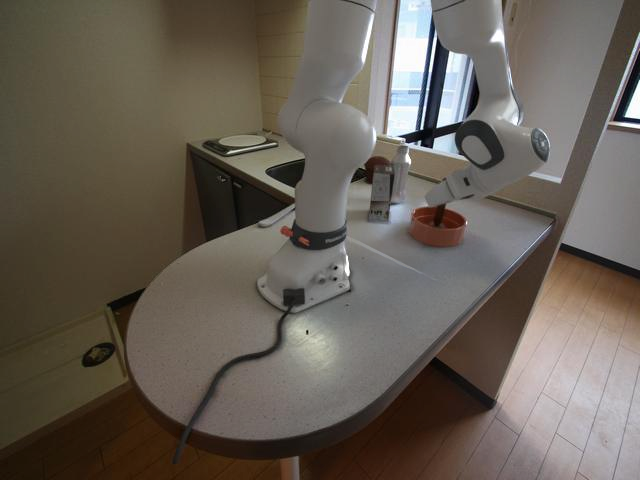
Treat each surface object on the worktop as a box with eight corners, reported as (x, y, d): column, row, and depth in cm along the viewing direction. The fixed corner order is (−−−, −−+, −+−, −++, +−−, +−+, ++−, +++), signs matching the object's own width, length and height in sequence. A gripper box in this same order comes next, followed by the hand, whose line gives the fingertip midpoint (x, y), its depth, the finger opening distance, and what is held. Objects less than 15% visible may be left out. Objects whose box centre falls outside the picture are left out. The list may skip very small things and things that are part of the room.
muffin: (359, 183, 131) (361, 159, 126) (365, 174, 140) (368, 152, 135) (388, 187, 128) (391, 162, 123) (392, 178, 137) (395, 155, 132)
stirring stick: (438, 238, 91) (451, 181, 82) (424, 233, 94) (436, 177, 85) (445, 233, 94) (459, 177, 85) (431, 228, 97) (443, 173, 88)
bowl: (446, 255, 85) (451, 235, 82) (398, 234, 94) (401, 216, 91) (470, 236, 94) (475, 218, 91) (424, 219, 103) (428, 202, 100)
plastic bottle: (408, 203, 114) (418, 147, 104) (395, 207, 111) (403, 150, 101) (395, 197, 119) (403, 143, 109) (382, 201, 116) (389, 145, 105)
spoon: (318, 190, 123) (317, 184, 122) (334, 194, 119) (334, 188, 118) (251, 227, 99) (250, 219, 98) (270, 234, 95) (269, 226, 94)
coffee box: (388, 223, 100) (395, 174, 92) (368, 221, 101) (373, 172, 93) (388, 211, 108) (395, 165, 100) (369, 209, 109) (374, 163, 101)
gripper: (500, 162, 82) (460, 186, 94) (445, 174, 73) (408, 198, 86) (511, 184, 81) (469, 205, 93) (456, 199, 72) (417, 220, 85)
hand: (440, 202), depth 89 cm, fingers open, 4 cm apart
